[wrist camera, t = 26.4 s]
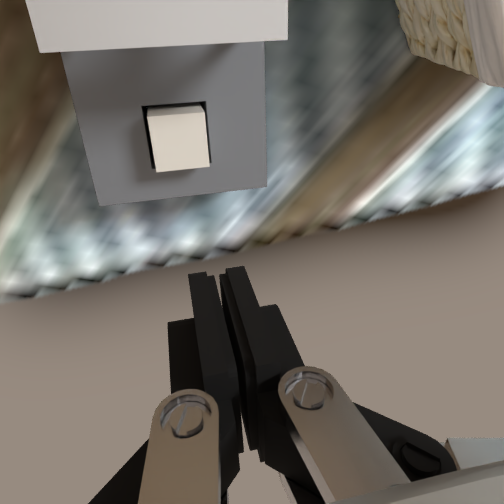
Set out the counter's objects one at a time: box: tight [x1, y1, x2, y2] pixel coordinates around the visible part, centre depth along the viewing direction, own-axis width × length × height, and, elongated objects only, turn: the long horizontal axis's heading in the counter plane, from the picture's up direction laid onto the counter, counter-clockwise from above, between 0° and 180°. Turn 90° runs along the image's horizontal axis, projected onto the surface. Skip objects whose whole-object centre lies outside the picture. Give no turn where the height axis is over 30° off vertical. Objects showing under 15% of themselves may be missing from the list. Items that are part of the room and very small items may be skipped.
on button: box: [147, 102, 210, 172], centre depth 32 cm, size 4×4×7 cm
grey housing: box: [25, 0, 288, 206], centre depth 26 cm, size 26×14×14 cm, turn 2°
